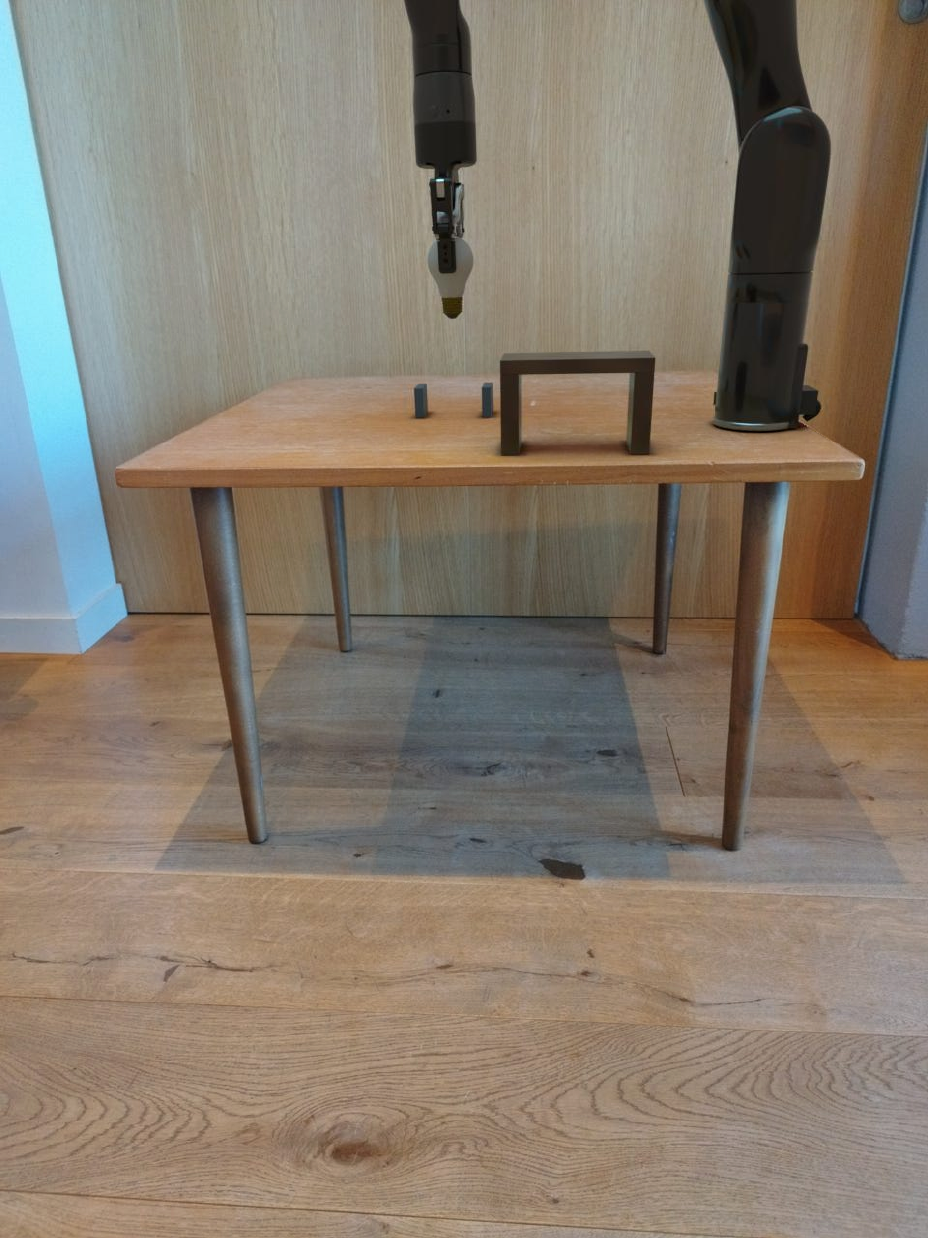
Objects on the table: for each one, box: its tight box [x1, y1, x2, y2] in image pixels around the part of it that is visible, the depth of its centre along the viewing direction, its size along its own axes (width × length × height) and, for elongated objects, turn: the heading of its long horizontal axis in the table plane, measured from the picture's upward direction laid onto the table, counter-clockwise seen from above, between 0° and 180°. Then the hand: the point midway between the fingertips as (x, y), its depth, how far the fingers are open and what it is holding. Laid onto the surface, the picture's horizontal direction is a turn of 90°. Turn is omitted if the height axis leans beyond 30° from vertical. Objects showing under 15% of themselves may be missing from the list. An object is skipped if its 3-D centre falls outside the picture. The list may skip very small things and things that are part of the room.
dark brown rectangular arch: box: [499, 350, 656, 456], centre depth 90 cm, size 16×6×10 cm, turn 84°
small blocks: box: [413, 382, 494, 419], centre depth 112 cm, size 10×4×4 cm, turn 84°
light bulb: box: [427, 236, 474, 320], centre depth 106 cm, size 6×6×10 cm
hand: (450, 272), depth 105 cm, fingers closed on light bulb, 6 cm apart
